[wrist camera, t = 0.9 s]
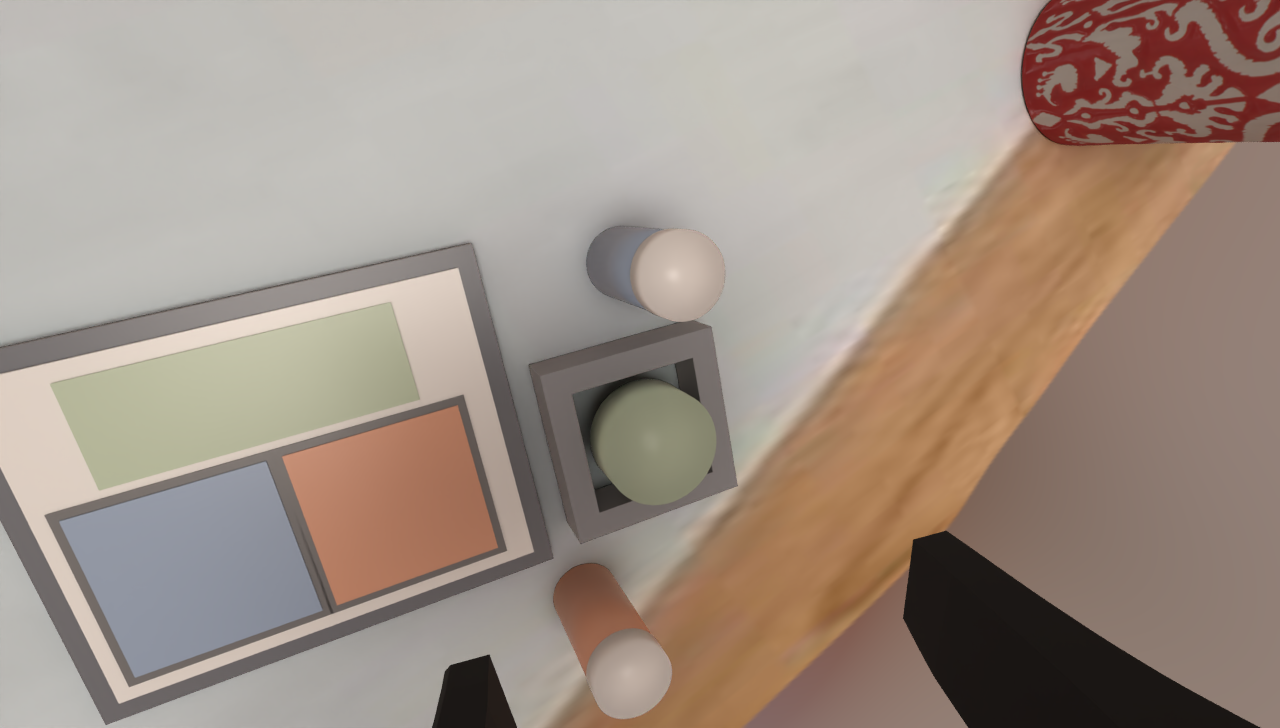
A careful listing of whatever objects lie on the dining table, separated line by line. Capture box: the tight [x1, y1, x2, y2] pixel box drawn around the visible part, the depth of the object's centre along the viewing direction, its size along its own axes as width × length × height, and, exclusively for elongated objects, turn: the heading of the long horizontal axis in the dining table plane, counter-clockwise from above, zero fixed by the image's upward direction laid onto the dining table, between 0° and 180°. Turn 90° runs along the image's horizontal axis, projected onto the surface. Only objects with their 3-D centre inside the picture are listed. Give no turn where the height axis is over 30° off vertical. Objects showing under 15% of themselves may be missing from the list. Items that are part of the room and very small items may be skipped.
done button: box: [590, 379, 716, 505], centre depth 26 cm, size 4×4×2 cm
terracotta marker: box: [553, 563, 672, 719], centre depth 27 cm, size 3×3×6 cm
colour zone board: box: [0, 243, 553, 725], centre depth 24 cm, size 13×16×1 cm
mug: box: [1022, 0, 1280, 146], centre depth 28 cm, size 13×9×14 cm
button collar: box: [529, 320, 738, 544], centre depth 28 cm, size 7×7×2 cm
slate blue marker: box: [586, 226, 725, 322], centre depth 25 cm, size 3×3×6 cm
